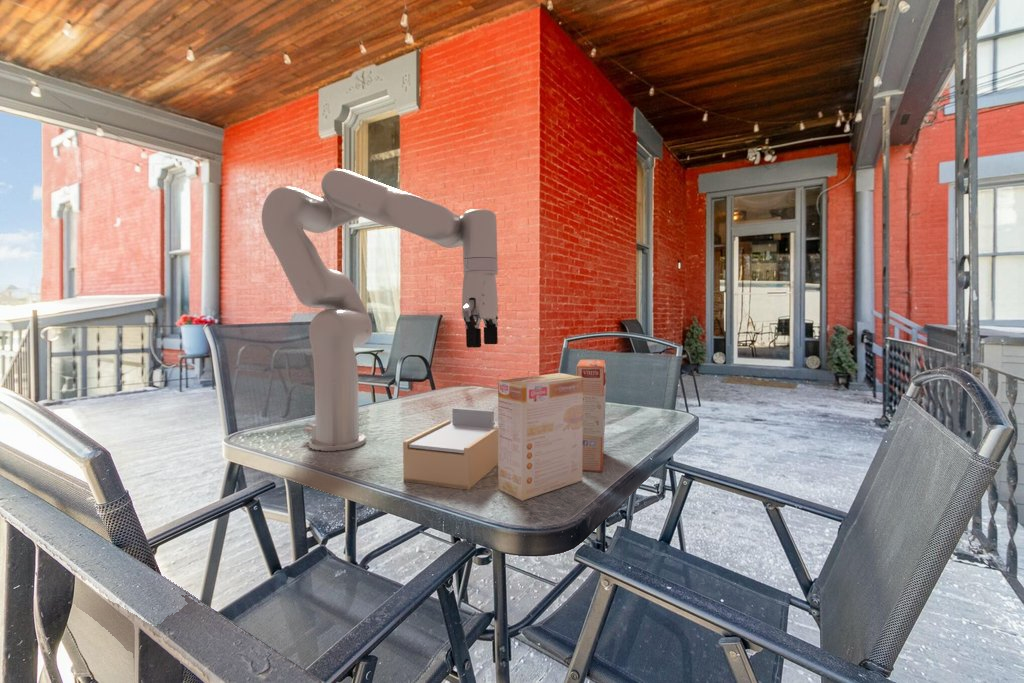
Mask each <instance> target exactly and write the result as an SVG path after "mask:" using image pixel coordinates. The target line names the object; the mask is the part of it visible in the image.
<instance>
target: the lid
mask: <svg viewBox="0 0 1024 683" xmlns="http://www.w3.org/2000/svg"><path fill="white" fill-rule="evenodd" d="M494 413H495V411H494V410H493V409H492V410H491V409H481V408H480V409H479V408H464V407H453V408H452V415H451V416H452V422H451V423H450V424H448V425H446V426H444V427H443V428H441V429H439V430H437V431H435V432H433V433H431V434H429V435H427V436H425V437H423V438H421V439H419V440H417V441H415V442H413V443H411V444H409V447H410V448H419V449H428V450H437V451H446V452H456V453H464V448H465V447H466V446H468V445H469V444H471V443H472V442H474V441H475V440H477V439H478V438H480V437H481V436H483V435H485V434H486V433H488V432H489V431H491V430H492V429H494V428H495V427H496V426H495V424H494V423H495V419H494V418H495V416H494V415H495V414H494Z"/></svg>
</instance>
